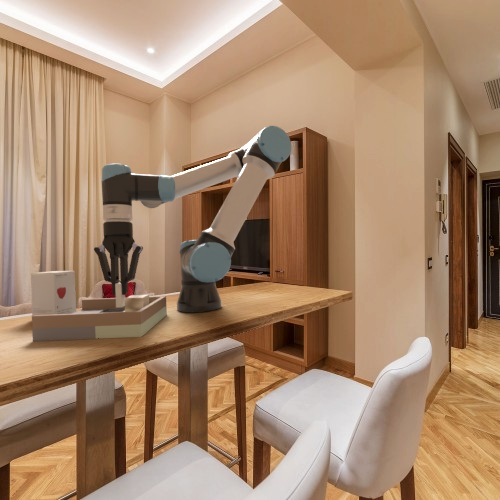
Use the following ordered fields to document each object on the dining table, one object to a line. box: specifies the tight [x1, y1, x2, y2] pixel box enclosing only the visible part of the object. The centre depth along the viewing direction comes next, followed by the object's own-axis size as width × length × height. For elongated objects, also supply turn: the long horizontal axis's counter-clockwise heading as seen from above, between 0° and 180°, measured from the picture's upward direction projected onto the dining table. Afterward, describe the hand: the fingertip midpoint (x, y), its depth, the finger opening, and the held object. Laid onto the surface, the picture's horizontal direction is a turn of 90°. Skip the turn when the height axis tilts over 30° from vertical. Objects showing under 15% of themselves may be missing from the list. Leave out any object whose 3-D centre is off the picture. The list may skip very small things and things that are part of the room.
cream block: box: [124, 294, 150, 312], centre depth 87 cm, size 5×5×5 cm
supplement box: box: [30, 270, 77, 317], centre depth 102 cm, size 9×9×15 cm
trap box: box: [31, 295, 168, 342], centre depth 87 cm, size 26×24×6 cm
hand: (120, 306), depth 87 cm, fingers closed
